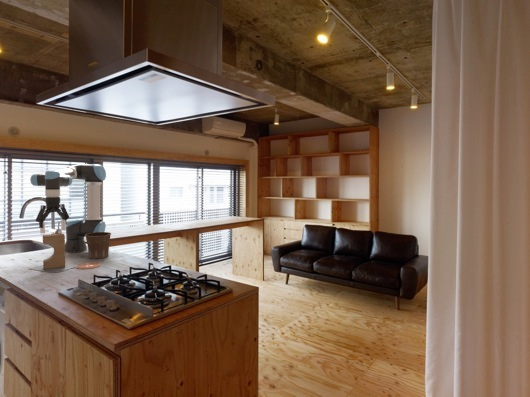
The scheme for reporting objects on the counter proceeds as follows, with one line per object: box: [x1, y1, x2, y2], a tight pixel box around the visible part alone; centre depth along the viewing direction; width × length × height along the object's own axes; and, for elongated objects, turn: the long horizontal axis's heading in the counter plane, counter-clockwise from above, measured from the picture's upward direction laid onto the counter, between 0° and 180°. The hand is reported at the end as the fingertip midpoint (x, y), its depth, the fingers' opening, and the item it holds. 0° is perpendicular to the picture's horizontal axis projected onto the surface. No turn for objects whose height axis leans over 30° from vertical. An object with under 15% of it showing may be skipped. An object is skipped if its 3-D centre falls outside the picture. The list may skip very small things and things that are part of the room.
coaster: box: [75, 262, 101, 270], centre depth 205 cm, size 13×13×1 cm
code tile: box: [29, 263, 78, 274], centre depth 200 cm, size 16×22×1 cm
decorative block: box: [42, 233, 66, 269], centre depth 200 cm, size 11×6×20 cm, turn 126°
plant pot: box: [85, 231, 112, 260], centre depth 228 cm, size 16×16×16 cm
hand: (53, 231), depth 199 cm, fingers open, 13 cm apart
